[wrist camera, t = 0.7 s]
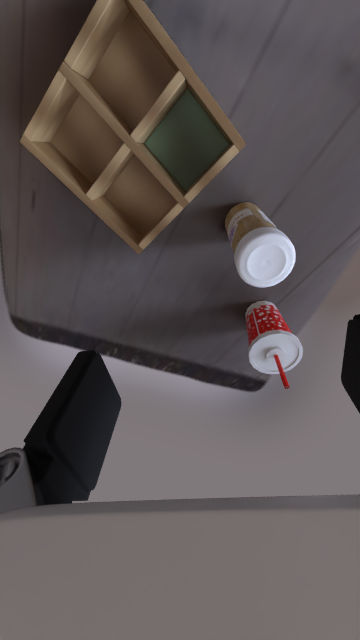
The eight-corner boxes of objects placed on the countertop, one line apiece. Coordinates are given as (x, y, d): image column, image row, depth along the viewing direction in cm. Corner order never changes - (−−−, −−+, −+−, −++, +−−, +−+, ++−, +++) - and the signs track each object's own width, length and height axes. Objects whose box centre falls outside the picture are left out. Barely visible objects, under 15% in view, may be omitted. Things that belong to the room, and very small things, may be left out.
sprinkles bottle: (223, 204, 31) (236, 236, 20) (264, 199, 31) (300, 229, 19) (225, 243, 34) (236, 291, 22) (262, 239, 33) (294, 287, 22)
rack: (130, -6, 23) (116, -37, 19) (240, 144, 28) (246, 144, 24) (43, 142, 29) (18, 141, 25) (145, 242, 34) (138, 255, 30)
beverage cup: (256, 338, 41) (277, 415, 29) (231, 312, 39) (243, 384, 27) (291, 316, 39) (331, 390, 27) (267, 287, 36) (298, 354, 25)
